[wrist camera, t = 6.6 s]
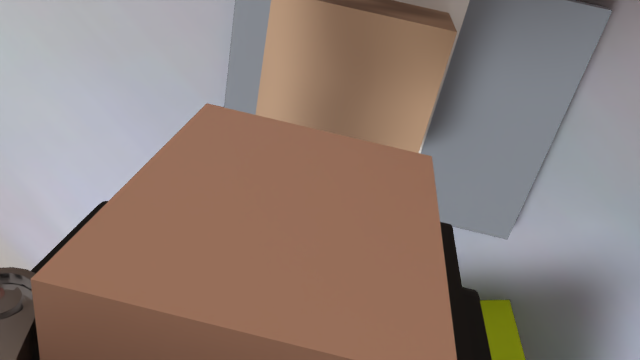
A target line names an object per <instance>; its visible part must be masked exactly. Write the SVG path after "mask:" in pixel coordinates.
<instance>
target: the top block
mask: <svg viewBox="0 0 640 360" xmlns="http://www.w3.org/2000/svg"><path fill="white" fill-rule="evenodd" d="M31 287H32V296H33V304H34V313H35V321H36V329H37V338H38V346H39V355H40V360H457V355H456V347H455V339H454V331H453V323H452V314H451V306H450V298H449V290H448V282H447V274H446V266H445V258H444V250H443V242H442V234H441V225H440V217H439V209H438V201H437V193H436V185H435V177H434V169H433V161H432V156H429V155H424V154H420V153H416V152H411V151H407V150H403V149H399V148H394V147H390V146H386V145H382V144H377V143H373V142H369V141H365V140H360V139H356V138H352V137H348V136H343V135H339V134H335V133H331V132H326V131H322V130H318V129H314V128H309V127H305V126H301V125H296V124H292V123H288V122H284V121H279V120H275V119H271V118H267V117H262V116H258V115H254V114H250V113H245V112H241V111H237V110H233V109H228V108H224V107H220V106H216V105H211V104H206V105H205V106H204V107H203V108H202V109H201V110H200V111H199V112H198V113H197V114H196V115H195V116H194V117H193V118H192V119H191V120H190V121H189V122H188V123H187V124H186V125H185V126H184V127H183V128H182V129H181V130H180V131H179V132H178V133H177V134H176V135H175V136H174V137H173V138H172V139H171V140H170V141H169V142H168V143H167V144H166V145H164V146H163V147H162V148H161V149H160V150H159V151H158V152H157V153H156V154H155V155H154V156H153V157H152V158H151V159H150V160H149V161H148V162H147V163H146V164H145V165H144V166H143V167H142V168H141V169H140V170H139V171H138V172H137V173H136V174H135V175H134V176H133V177H132V178H131V179H130V180H129V181H128V182H127V183H126V184H125V185H124V186H123V187H122V188H121V189H120V190H119V191H118V192H117V193H116V194H115V195H114V196H113V197H112V198H111V199H110V200H109V201H108V202H107V203H106V204H105V205H104V206H103V207H102V208H101V209H100V210H99V211H98V212H97V213H96V214H95V215H94V216H93V217H92V218H91V219H90V220H89V221H88V222H87V223H86V224H85V225H84V226H83V227H82V228H81V229H80V230H79V231H78V232H77V233H76V234H75V235H74V236H73V237H72V238H71V239H70V240H69V241H68V242H67V243H66V244H65V245H64V246H63V247H62V248H61V249H60V250H59V251H58V252H57V253H56V254H55V255H54V256H53V257H52V258H51V259H50V260H49V261H48V262H47V263H46V264H45V265H44V266H43V267H42V268H41V269H40V270H39V271H38V272H37V273H36V274H35V275H34V276H33V277H32V278H31Z"/></svg>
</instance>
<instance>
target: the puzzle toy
mask: <svg viewBox="0 0 640 360" xmlns="http://www.w3.org/2000/svg"><path fill="white" fill-rule="evenodd" d="M480 303H481V308H482V313H483V318H484V323H485V328H486V333H487V338H488V343H489V348H490V353H491V358H492V360H526V359H525V356H524V352H523V348H522V345H521V341H520V337H519V333H518V330H517V326H516V322H515V319H514V315H513V311H512V307H511V304H510V300H480Z"/></svg>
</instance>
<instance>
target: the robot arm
mask: <svg viewBox="0 0 640 360" xmlns="http://www.w3.org/2000/svg"><path fill="white" fill-rule="evenodd" d="M107 202H108V201H104V202H102V203H100V204H99V205H98V206H97V207H96V208H95V209H94V210H93V211H92V212H91V213H90V214H89V215H88V216H86V217H85V218H84V219H83V220H82V221H81V222H80V223H79V224H78V225H77V226H76V227H75V228H74V229H73V230H72V231H71V232H70V233H69V234H68V235H67V236H66V237H65V238H64V239H63V240H62V241H61V242H60V243H59V244H58V245H57V246H56V247H55V248H54V249H53V250H52V251H51V252H50V253H49V254H48V255H47V256H46V257H45V258H44V259H43V260H41V261H40V262H39V263H38V264H37V265H36V266H35V267H34V268H33V269H32V270H31V271H29V270H26V269H21V268H14V267H7V268H0V360H40V355H39V346H38V338H37V329H36V321H35V313H34V304H33V296H32V287H31V278H32V277H33V276H34V275H35V274H36V273H37V272H38V271H39V270H40V269H41V268H42V267H43V266H44V265H45V264H46V263H47V262H48V261H49V260H50V259H51V258H52V257H53V256H54V255H55V254H56V253H57V252H58V251H59V250H60V249H61V248H62V247H63V246H64V245H65V244H66V243H67V242H68V241H69V240H70V239H71V238H72V237H73V236H74V235H75V234H76V233H77V232H78V231H79V230H80V229H81V228H82V227H83V226H84V225H85V224H86V223H87V222H88V221H89V220H90V219H91V218H92V217H93V216H94V215H95V214H96V213H97V212H98V211H99V210H100V209H101V208H102V207H103V206H104V205H105V204H106V203H107ZM440 225H441V234H442V242H443V250H444V258H445V266H446V274H447V282H448V290H449V298H450V306H451V314H452V323H453V331H454V339H455V347H456V355H457V360H492V358H491V353H490V348H489V343H488V338H487V333H486V328H485V323H484V318H483V313H482V308H481V303H480V298H479V295H478V292H476V291H475V290H472V289H468V288H464V287H462V285H461V278H460V272H459V266H458V260H457V253H456V247H455V241H454V234H453V228H452V225H451V224H448V223H443V222H440Z"/></svg>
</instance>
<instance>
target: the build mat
mask: <svg viewBox="0 0 640 360" xmlns="http://www.w3.org/2000/svg"><path fill="white" fill-rule="evenodd" d="M394 1H398V2H403V3H407V4H412V5H416V6H421V7H425V8H429V9H434V10H438V11H443V12H447V13H449V14H450V17H451V19H452V21H453V24H454V26H455V28H456V30H457V34H456V37H455V41H454V44H453V47H452V50H451V53H450V56H449V59H448V63H447V66H446V69H445V72H444V75H443V78H442V81H441V84H440V88H439V91H438V94H437V97H436V100H435V103H434V106H433V109H432V113H431V116H430V119H429V122H428V125H427V128H426V131H425V135H424V138H423V141H422V144H421V147H420V150H419V153H420V154H424V155H429V156H432V161H433V169H434V177H435V185H436V193H437V201H438V209H439V217H440V222H443V223H448V224H451V225H452V226H453V227H457V228H461V229H465V230H469V231H474V232H478V233H482V234H486V235H490V236H494V237H498V238H503V239H508V237H509V235H510V233H511V231H512V228H513V226H514V224H515V222H516V220H517V218H518V215H519V213H520V211H521V209H522V207H523V204H524V202H525V200H526V198H527V196H528V194H529V191H530V189H531V187H532V185H533V183H534V180H535V178H536V176H537V174H538V172H539V170H540V167H541V165H542V163H543V161H544V159H545V157H546V154H547V152H548V150H549V148H550V146H551V143H552V141H553V139H554V137H555V135H556V133H557V130H558V128H559V126H560V124H561V122H562V119H563V117H564V115H565V113H566V111H567V109H568V106H569V104H570V102H571V100H572V98H573V95H574V93H575V91H576V89H577V87H578V85H579V82H580V80H581V78H582V76H583V74H584V72H585V69H586V67H587V65H588V63H589V61H590V58H591V56H592V54H593V52H594V50H595V48H596V45H597V43H598V41H599V39H600V37H601V34H602V32H603V30H604V28H605V26H606V24H607V21H608V19H609V17H610V15H611V13H612V10H610V9H608V8H606V7H603V6H599V5H594V4H590V3H585V2H581V1H576V0H394ZM270 5H271V0H235V7H234V17H233V26H232V36H231V46H230V55H229V65H228V75H227V84H226V94H225V104H224V108H228V109H233V110H237V111H241V112H245V113H250V114H254V115H256V107H257V100H258V93H259V86H260V78H261V71H262V64H263V56H264V49H265V42H266V34H267V27H268V20H269V13H270Z"/></svg>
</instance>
